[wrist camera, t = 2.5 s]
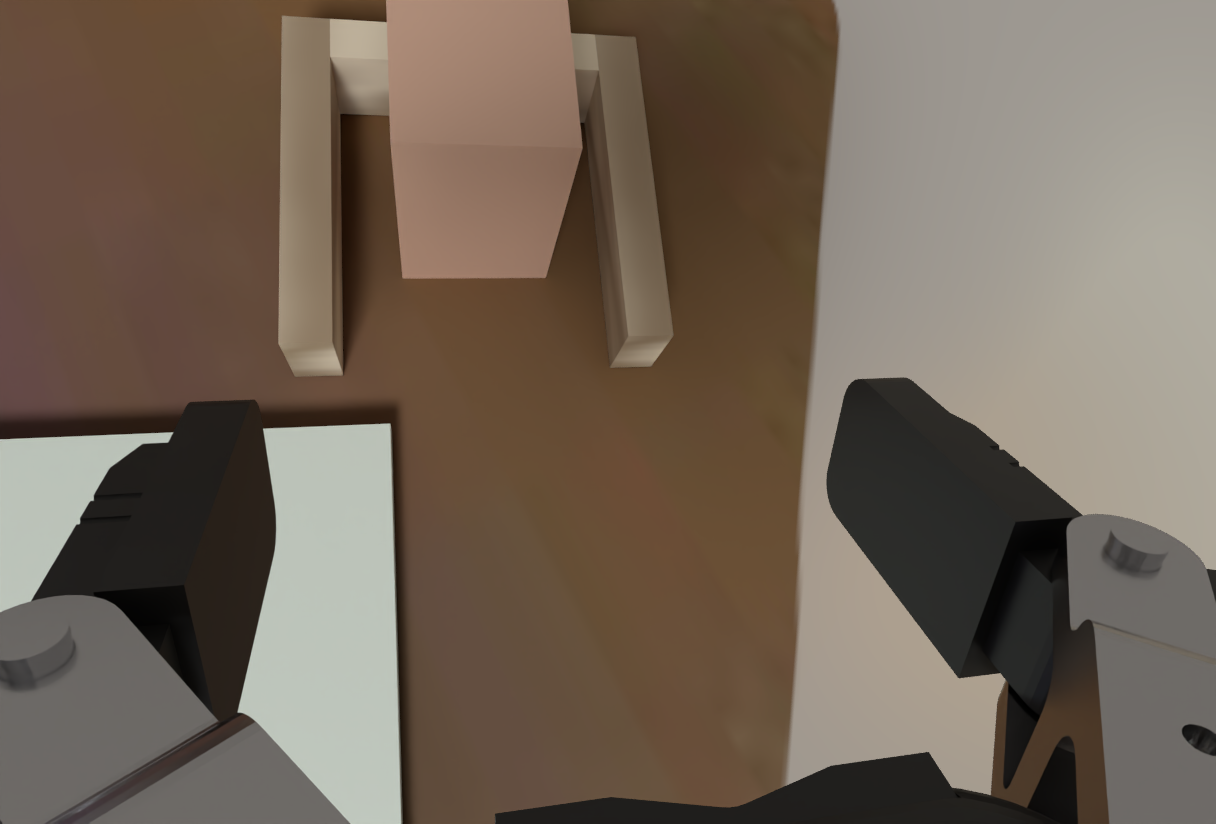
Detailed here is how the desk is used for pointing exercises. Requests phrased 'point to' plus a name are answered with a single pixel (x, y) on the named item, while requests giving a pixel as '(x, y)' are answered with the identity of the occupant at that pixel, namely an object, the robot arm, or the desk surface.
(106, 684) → the robot arm
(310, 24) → the maple bay
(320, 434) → the sage mat
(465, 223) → the terracotta block
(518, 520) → the desk surface
